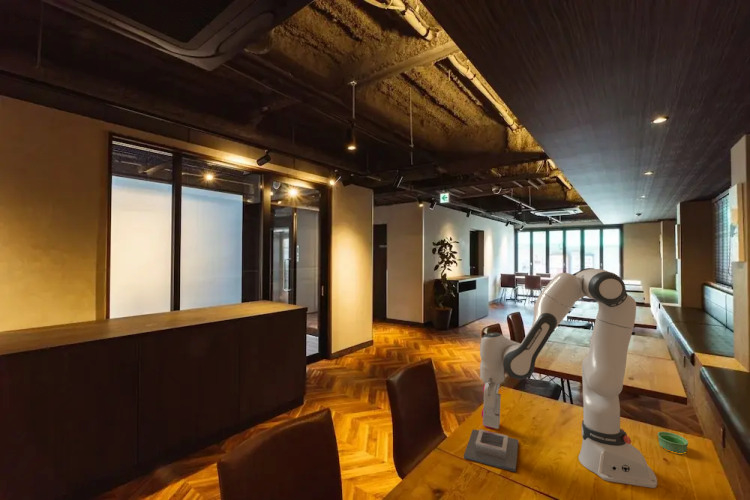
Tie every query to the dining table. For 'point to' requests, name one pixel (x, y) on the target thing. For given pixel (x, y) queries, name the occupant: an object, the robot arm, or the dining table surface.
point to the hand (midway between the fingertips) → (492, 409)
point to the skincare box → (492, 415)
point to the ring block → (492, 449)
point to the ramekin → (672, 442)
